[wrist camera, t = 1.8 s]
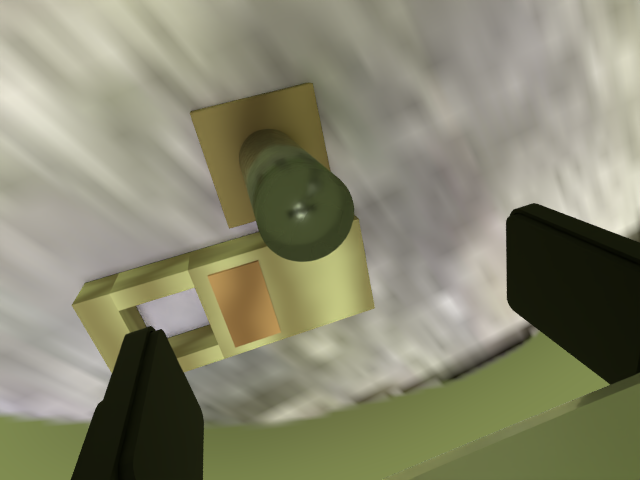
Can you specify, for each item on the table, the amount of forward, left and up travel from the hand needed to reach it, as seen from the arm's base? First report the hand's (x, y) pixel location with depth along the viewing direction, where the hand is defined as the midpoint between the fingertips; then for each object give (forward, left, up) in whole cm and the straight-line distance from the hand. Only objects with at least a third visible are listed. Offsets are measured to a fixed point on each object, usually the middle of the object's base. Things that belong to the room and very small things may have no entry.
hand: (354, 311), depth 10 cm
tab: (0, 0, -20) cm, 20 cm away
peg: (0, 0, -18) cm, 18 cm away
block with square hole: (+5, +9, -20) cm, 22 cm away
